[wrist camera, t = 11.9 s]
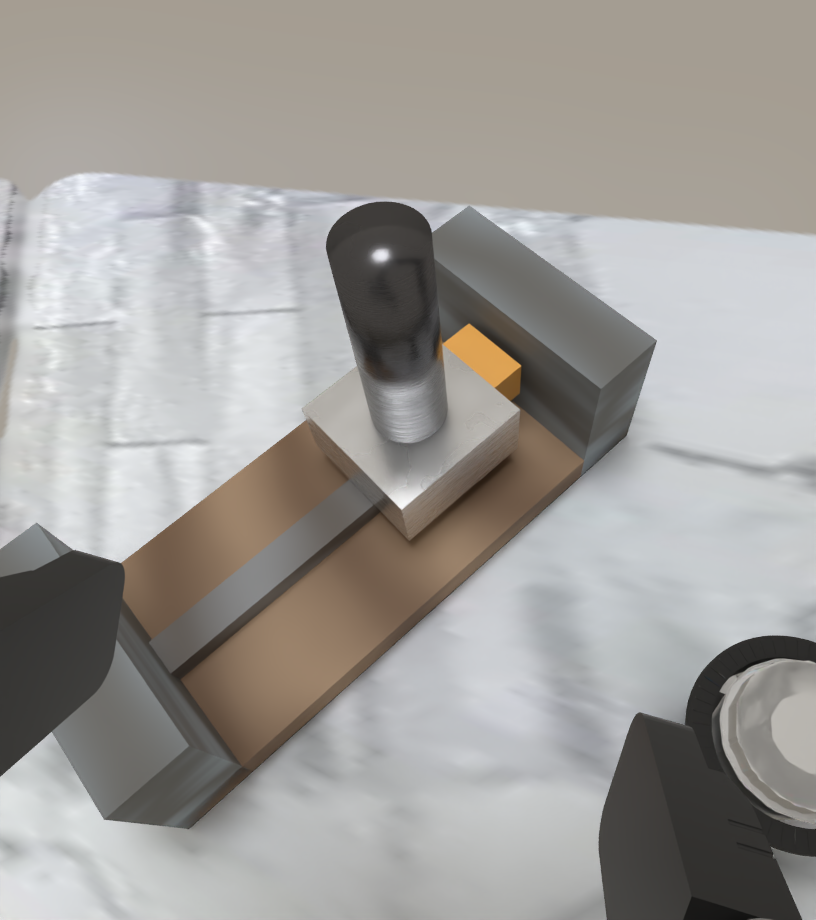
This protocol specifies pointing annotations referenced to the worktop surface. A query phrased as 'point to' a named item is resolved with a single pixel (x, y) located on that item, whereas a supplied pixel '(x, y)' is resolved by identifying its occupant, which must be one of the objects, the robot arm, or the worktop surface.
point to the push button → (763, 731)
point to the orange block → (487, 360)
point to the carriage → (403, 377)
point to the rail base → (332, 551)
